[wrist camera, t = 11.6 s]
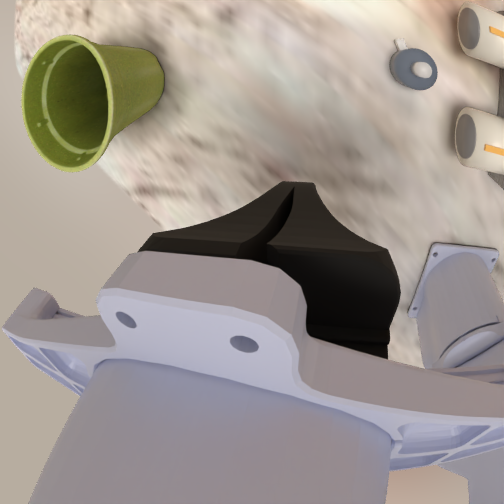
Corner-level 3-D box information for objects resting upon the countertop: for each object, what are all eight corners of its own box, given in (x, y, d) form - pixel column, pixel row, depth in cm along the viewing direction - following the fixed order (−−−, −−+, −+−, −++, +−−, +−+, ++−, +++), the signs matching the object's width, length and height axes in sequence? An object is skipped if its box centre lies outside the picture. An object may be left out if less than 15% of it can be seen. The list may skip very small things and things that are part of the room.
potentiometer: (431, 83, 14) (450, 89, 12) (397, 90, 16) (411, 96, 13) (415, 36, 13) (432, 32, 10) (379, 43, 14) (390, 39, 11)
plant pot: (169, 146, 23) (105, 192, 16) (89, 119, 22) (21, 153, 16) (198, 41, 17) (127, 39, 10) (105, 27, 16) (27, 36, 10)
